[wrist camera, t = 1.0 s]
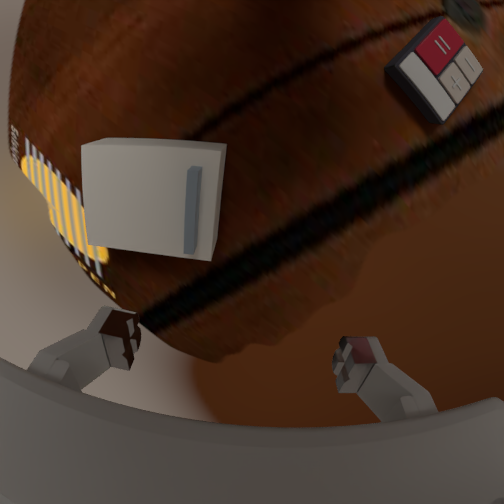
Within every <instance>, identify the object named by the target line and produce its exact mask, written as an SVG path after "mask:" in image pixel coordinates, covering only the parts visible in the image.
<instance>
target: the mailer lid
mask: <svg viewBox="0 0 504 504" xmlns="http://www.w3.org/2000/svg"><path fill="white" fill-rule="evenodd" d="M221 151H222V150H212V149H201V148H189V147H175V146H156V145H123V144H94V145H81V157H82V186H83V201H84V212H85V222H86V231H87V239H88V245H95V246H102V247H109V248H116V249H123V250H130V251H137V252H145V253H152V254H160V255H167V256H175V257H182V258H190V259H198V260H205V261H211V259H212V246H213V234H214V222H215V210H216V200H217V189H218V179H219V170H220V160H221Z"/></svg>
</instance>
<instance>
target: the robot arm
mask: <svg viewBox="0 0 504 504" xmlns="http://www.w3.org/2000/svg"><path fill="white" fill-rule="evenodd" d="M138 323H139V315H138V313H136V312H131V311H127V310H122V309H118V308H112V307H108V306H102V307H101V309H100V310H99V312H98V313H97V314H96V316H95V318H94V319H93V321H92V322H91V323H90V325H89V326H88V328H87V330H84V329H83V330H81V331H79V332H77V333H75V334H73V335H71V336H69V337H67V338H64V339H62V340H61V341H58V342H56V343H54V344H52V345H50V346H48V347H47V348H44V349H42V350H40V351H39V352H38V354H37V355H36V357H35V358H34V360H33V362H32V363H31V364H30V366H29V367H28V369H27V370H24V369H23V368H20V367H18V366H16V365H14V364H12V363H10V362H8V361H6V360H4V359H2V358H0V504H504V402H503V401H501V400H500V399H498V398H495V397H492V398H488V399H485V400H482V401H479V402H476V403H472V404H469V405H465V406H462V407H458V408H454V409H451V410H446V411H442V412H438V411H437V409H436V406H435V404H434V402H433V400H432V397H431V395H430V393H429V392H428V391H427V390H426V389H424V388H423V387H421V386H420V385H419V384H418V383H417V382H415V381H414V380H413V379H411V378H410V377H409V376H407V375H406V374H405V373H403V372H402V371H401V370H400V369H398V368H397V367H396V366H394V365H393V364H392V363H391V364H389V363H388V361H387V358H386V356H385V354H384V352H383V350H382V347H381V345H380V343H379V341H378V339H377V338H376V337H348V336H343V337H342V338H341V339H340V342H339V346H340V348H339V349H337V350H336V351H335V353H334V356H333V361H332V368H333V372H334V373H335V374H336V375H337V376H338V377H337V379H336V385H337V389H338V392H339V393H357V394H358V396H359V397H360V398H361V399H362V400H363V401H364V402H365V403H366V404H367V406H368V407H369V408H370V409H371V410H372V411H373V412H374V413H375V414H376V416H377V417H378V418H379V419H380V420H381V421H382V422H381V423H373V424H364V425H352V426H339V427H316V428H280V427H277V428H276V427H256V426H243V425H231V424H222V423H214V422H206V421H199V420H192V419H186V418H180V417H175V416H169V415H164V414H159V413H155V412H150V411H146V410H141V409H137V408H133V407H129V406H125V405H122V404H118V403H114V402H111V401H107V400H104V399H101V398H97V397H94V396H91V395H88V394H85V393H82V391H81V389H83V388H84V387H85V386H87V385H88V384H89V383H91V382H92V381H93V380H95V379H96V378H97V377H98V376H100V375H101V374H102V373H104V372H105V371H106V370H108V369H109V368H110V367H115V368H119V369H124V370H130V368H131V366H132V363H133V361H134V353H135V352H137V351H138V349H139V346H140V341H141V330H140V328H139V327H138V326H137V325H138Z"/></svg>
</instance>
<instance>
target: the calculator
mask: <svg viewBox="0 0 504 504" xmlns="http://www.w3.org/2000/svg"><path fill="white" fill-rule="evenodd" d="M384 70H385V71H386V72H387V73H388V74H389V76H390V77H391V78H392V79H393V80H394V81H395V82H396V83H397V84H398V85H399V86H400V88H401V89H402V90H403V91H404V92H405V93H406V94H407V96H408V97H409V98H410V99H411V100H412V102H413V103H414V104H415V105H416V107H417V108H418V109H419V110H420V112H421V113H422V114H423V115H424V117H425V118H426V119H427V121H428V122H429V123H435V124H444V123H445V122H446V120H447V119H448V118H449V116H450V115H451V114H452V113H453V111H454V110H455V109H456V107H457V106H458V105H459V103H460V102H461V101H462V99H463V98H464V97H465V95H466V94H467V93H468V91H469V90H470V89H471V87H472V86H473V84H474V83H475V82H476V80H477V79H478V78H479V76H480V75H481V73H482V72H483V69H482V67H481V65H480V64H479V62H478V61H477V59H476V58H475V57H474V55H473V54H472V52H471V51H470V49H469V48H468V47H467V46H466V45H465V43H464V41H463V40H462V39H461V37H460V36H459V35H458V33H457V32H456V31H455V30H454V28H453V27H452V26H451V25H450V24H449V22H448V21H447V20H446V19H445V18H444V17H443V16H439V17H436V18H434V19H432V20H431V21H430V22H429V23H428V24H426V25H425V26H424V27H423V28H422V29H421V30H420V32H419V33H418V34H417V35H416V36H415V37H414V38H413V39H412V40H411V41H410V42H409V43H408V44H407V45H406V46H405V47H404V48H403V49H402V50H401V51H400V52H399V53H398V54H397V55H396V56H395V57H394V58H393V59H392V60H391V61H390V62H389V63H388V64H387V65H386V66H385V67H384Z"/></svg>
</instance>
